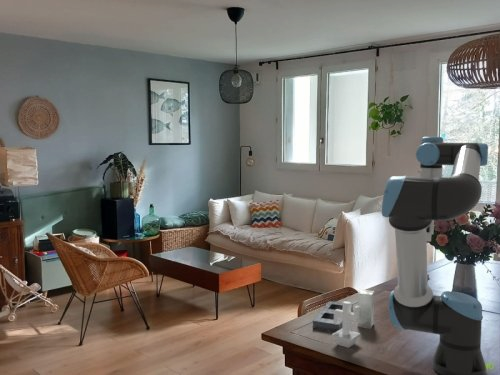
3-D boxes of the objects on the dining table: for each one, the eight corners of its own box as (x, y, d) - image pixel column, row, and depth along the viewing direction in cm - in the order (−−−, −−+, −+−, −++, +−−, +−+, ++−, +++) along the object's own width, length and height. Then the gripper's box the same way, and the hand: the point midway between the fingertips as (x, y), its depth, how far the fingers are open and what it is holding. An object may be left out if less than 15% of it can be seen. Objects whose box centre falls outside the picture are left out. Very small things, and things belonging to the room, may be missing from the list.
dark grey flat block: (339, 332, 182) (339, 324, 181) (312, 328, 186) (312, 320, 185) (352, 311, 204) (353, 304, 203) (329, 308, 208) (329, 301, 207)
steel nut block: (371, 328, 186) (371, 294, 184) (357, 326, 188) (358, 293, 186) (373, 324, 190) (374, 291, 189) (360, 322, 192) (360, 289, 191)
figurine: (339, 337, 178) (339, 296, 176) (363, 344, 172) (364, 302, 170) (328, 343, 172) (329, 301, 170) (353, 351, 166) (354, 307, 164)
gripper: (422, 176, 192) (420, 230, 194) (416, 182, 169) (414, 243, 172) (443, 177, 189) (440, 232, 191) (440, 183, 166) (437, 245, 169)
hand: (428, 237), depth 182 cm, fingers open, 13 cm apart
